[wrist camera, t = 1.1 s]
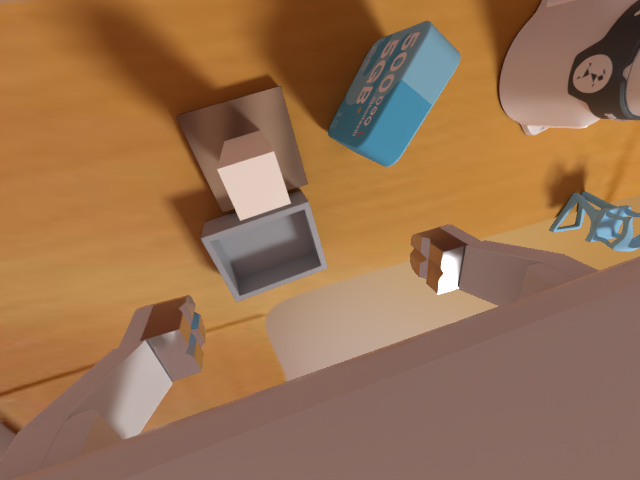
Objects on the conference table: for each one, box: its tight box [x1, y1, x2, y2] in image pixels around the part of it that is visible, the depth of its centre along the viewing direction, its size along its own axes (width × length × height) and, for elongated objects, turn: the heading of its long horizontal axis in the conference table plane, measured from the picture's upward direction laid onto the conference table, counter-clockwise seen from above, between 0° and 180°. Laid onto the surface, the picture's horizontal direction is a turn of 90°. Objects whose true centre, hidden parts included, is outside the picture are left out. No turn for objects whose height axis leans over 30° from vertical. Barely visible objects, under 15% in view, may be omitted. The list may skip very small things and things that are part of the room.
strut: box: [217, 131, 291, 221], centre depth 27 cm, size 4×4×14 cm
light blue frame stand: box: [549, 191, 640, 251], centre depth 51 cm, size 8×8×12 cm
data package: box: [328, 21, 460, 167], centre depth 30 cm, size 12×4×12 cm, turn 150°
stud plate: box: [176, 86, 308, 213], centre depth 33 cm, size 12×12×4 cm
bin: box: [201, 190, 328, 302], centre depth 38 cm, size 14×11×5 cm
